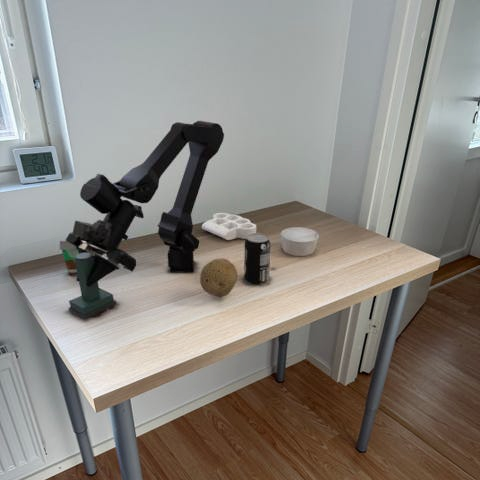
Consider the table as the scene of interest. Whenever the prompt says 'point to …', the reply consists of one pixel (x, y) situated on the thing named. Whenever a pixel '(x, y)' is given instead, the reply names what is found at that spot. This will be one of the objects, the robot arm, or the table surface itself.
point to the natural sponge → (218, 277)
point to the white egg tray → (229, 226)
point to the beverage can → (257, 258)
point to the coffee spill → (101, 312)
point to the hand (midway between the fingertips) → (82, 283)
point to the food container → (69, 256)
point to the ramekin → (299, 241)
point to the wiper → (89, 291)
